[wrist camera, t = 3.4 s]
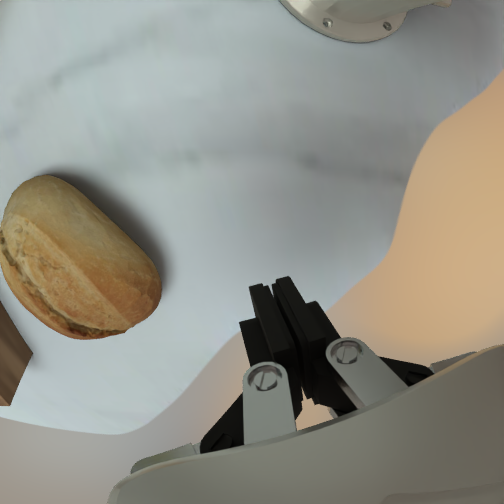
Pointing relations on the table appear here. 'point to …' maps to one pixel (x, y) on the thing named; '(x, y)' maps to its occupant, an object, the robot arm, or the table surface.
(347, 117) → the table surface
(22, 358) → the walnut board
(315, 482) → the robot arm
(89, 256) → the bread roll
